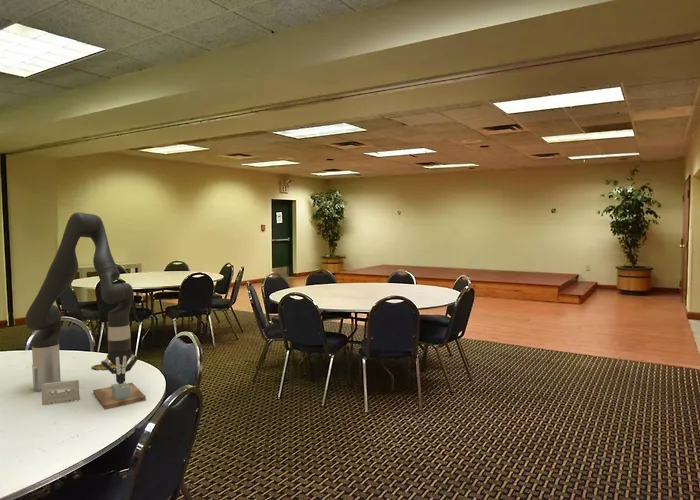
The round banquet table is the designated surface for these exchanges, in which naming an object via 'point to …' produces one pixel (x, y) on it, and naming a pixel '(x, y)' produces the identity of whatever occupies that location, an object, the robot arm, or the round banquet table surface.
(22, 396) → the round banquet table surface
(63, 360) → the round banquet table surface
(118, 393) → the grey-green box
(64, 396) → the cassette
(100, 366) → the gold looped flat piece
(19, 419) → the round banquet table surface
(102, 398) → the board
